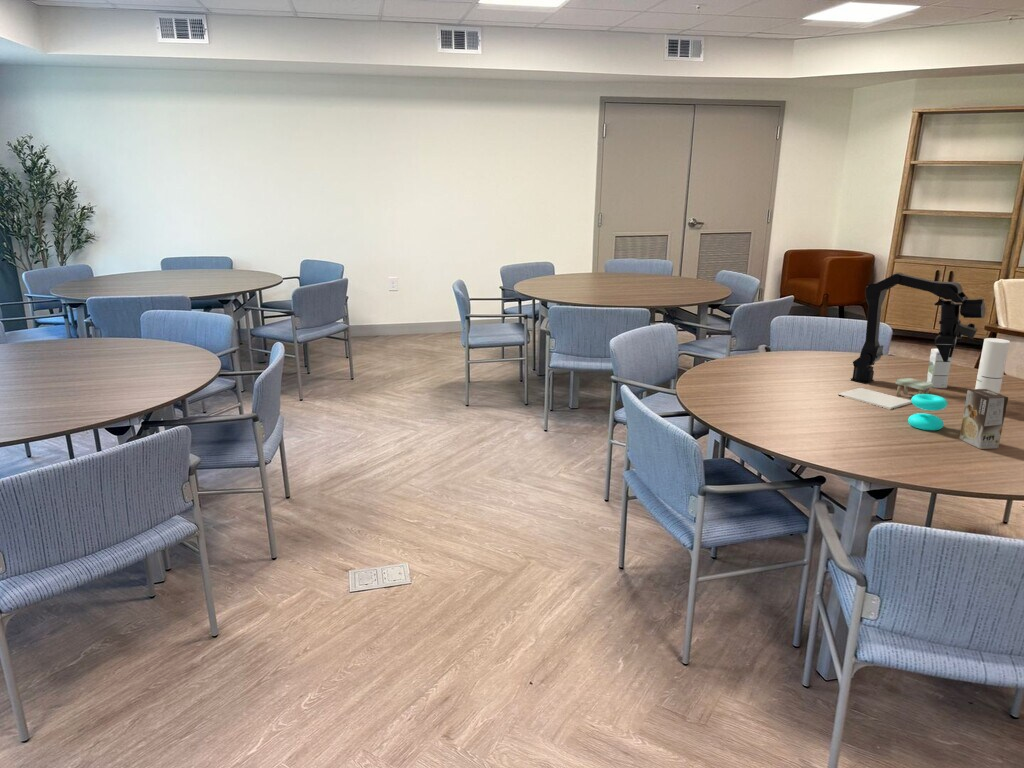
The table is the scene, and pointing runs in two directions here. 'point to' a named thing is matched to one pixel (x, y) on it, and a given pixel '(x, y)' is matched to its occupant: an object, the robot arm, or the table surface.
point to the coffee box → (983, 418)
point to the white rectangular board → (876, 398)
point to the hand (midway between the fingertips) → (947, 359)
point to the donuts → (924, 419)
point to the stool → (913, 385)
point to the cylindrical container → (992, 364)
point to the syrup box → (938, 370)
